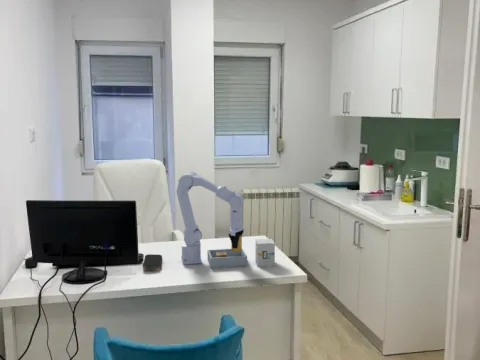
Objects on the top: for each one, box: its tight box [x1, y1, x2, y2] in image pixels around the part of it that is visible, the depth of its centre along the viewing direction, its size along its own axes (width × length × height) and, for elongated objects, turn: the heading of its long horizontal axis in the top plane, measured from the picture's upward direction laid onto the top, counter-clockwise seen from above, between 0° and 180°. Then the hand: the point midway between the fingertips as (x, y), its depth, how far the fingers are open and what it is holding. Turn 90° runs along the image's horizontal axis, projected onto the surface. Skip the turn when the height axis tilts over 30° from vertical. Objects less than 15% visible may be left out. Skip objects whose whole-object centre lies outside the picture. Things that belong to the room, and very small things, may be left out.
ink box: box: [255, 238, 276, 268], centre depth 237 cm, size 8×8×12 cm
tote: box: [206, 248, 248, 269], centre depth 240 cm, size 18×14×5 cm
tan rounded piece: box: [230, 235, 243, 252], centre depth 235 cm, size 5×5×7 cm
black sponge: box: [142, 254, 163, 272], centre depth 235 cm, size 16×8×4 cm, turn 5°
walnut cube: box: [216, 252, 227, 257], centre depth 237 cm, size 5×5×5 cm
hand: (236, 246), depth 235 cm, fingers closed on tan rounded piece, 5 cm apart
